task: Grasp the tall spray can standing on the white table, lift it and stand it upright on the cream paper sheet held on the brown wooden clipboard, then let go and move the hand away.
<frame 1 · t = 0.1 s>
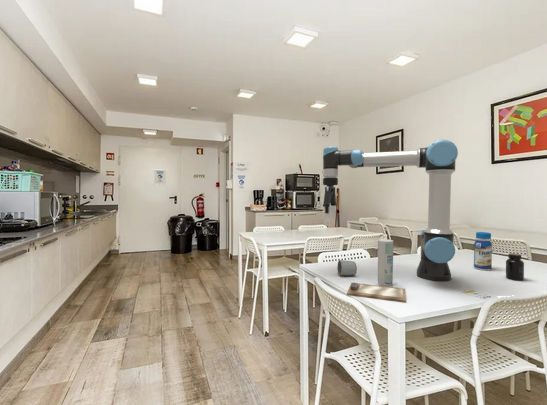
hand: (330, 219, 151), 28 cm above the table, tool pointing down, fingers open, 13 cm apart
supplement bottle: (514, 279, 143), on the table
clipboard: (376, 292, 122), on the table
grey cylinder: (345, 275, 150), on the table
beverage bottle: (482, 269, 162), on the table
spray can: (385, 284, 134), on the table
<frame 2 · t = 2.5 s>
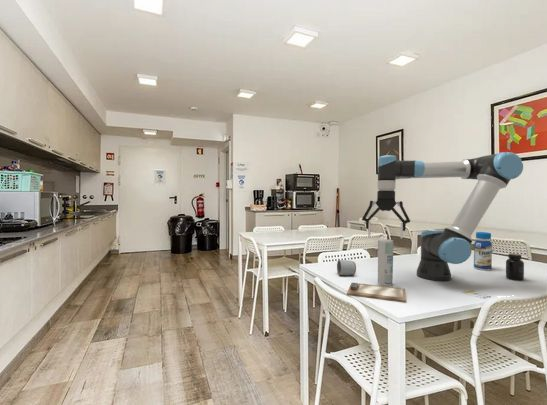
hand: (385, 237, 133), 21 cm above the table, tool pointing down, fingers open, 13 cm apart
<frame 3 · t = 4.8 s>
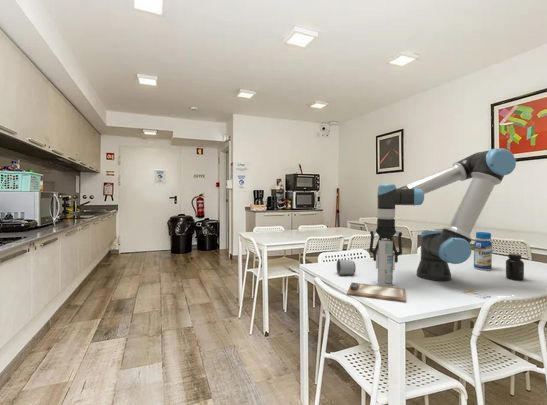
hand: (385, 268, 134), 7 cm above the table, tool pointing down, fingers closed on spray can, 6 cm apart
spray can: (385, 284, 134), on the table, touching gripper
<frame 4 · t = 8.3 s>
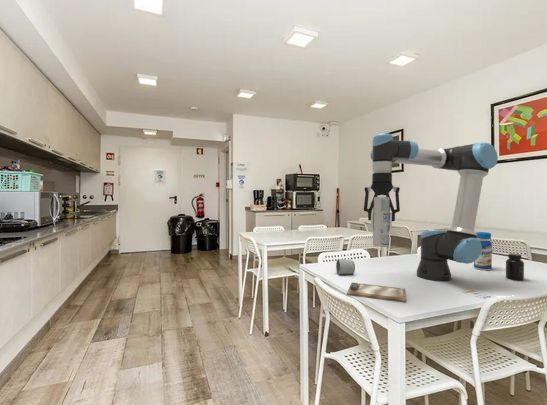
hand: (381, 228, 121), 27 cm above the table, tool pointing down, fingers closed on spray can, 6 cm apart
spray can: (380, 246, 121), point 19 cm above the table, touching gripper
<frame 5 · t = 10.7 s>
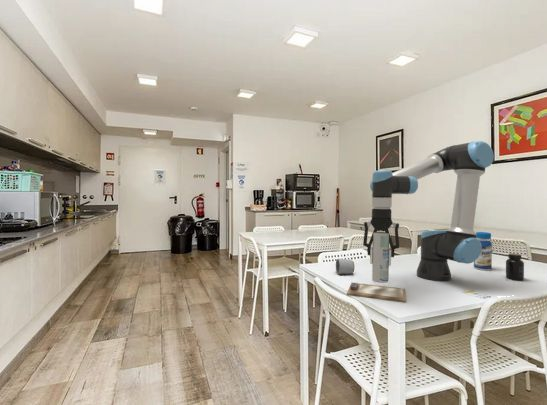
hand: (380, 264, 121), 12 cm above the table, tool pointing down, fingers closed on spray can, 6 cm apart
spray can: (380, 281, 121), point 5 cm above the table, touching gripper
when the fingers open (9 cm above the table, at t = 12.2 s): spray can drops 1 cm, resting on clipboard.
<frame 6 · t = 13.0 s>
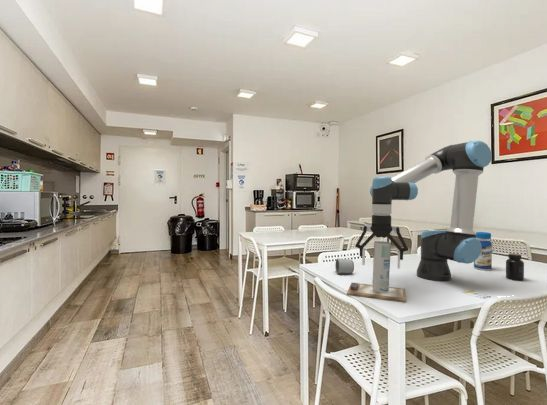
hand: (380, 266, 121), 11 cm above the table, tool pointing down, fingers open, 13 cm apart
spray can: (380, 290, 122), point 1 cm above the table, touching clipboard
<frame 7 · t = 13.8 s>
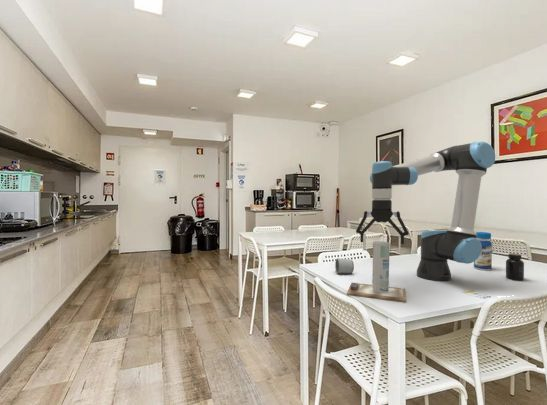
hand: (381, 251, 121), 17 cm above the table, tool pointing down, fingers open, 13 cm apart
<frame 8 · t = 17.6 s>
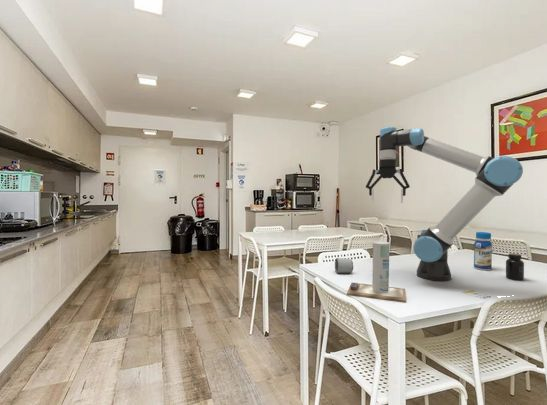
hand: (386, 202, 146), 37 cm above the table, tool pointing down, fingers open, 13 cm apart
at the end: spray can inside the target area on the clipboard (0.1 cm from its centre), point 0.8 cm above the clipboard's base; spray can tilted 0°; the gripper is holding nothing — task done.
